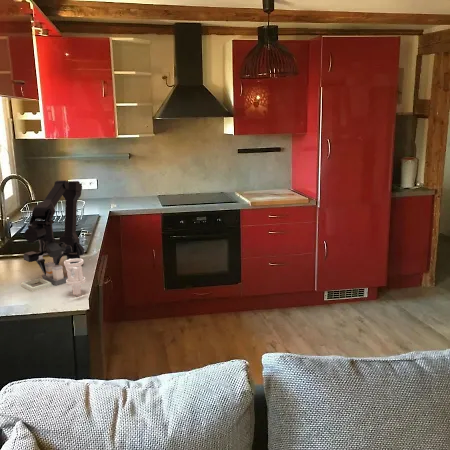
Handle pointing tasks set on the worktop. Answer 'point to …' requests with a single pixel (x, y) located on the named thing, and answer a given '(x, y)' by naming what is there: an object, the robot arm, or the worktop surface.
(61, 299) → the worktop surface
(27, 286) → the tray
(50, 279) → the fuse board
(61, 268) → the block
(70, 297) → the worktop surface
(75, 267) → the white tall plastic piece
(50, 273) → the marked fuse
